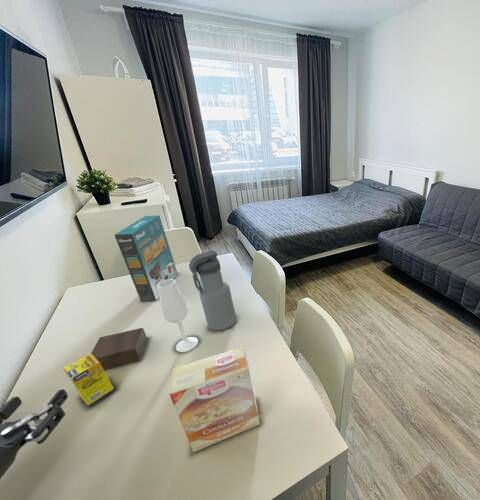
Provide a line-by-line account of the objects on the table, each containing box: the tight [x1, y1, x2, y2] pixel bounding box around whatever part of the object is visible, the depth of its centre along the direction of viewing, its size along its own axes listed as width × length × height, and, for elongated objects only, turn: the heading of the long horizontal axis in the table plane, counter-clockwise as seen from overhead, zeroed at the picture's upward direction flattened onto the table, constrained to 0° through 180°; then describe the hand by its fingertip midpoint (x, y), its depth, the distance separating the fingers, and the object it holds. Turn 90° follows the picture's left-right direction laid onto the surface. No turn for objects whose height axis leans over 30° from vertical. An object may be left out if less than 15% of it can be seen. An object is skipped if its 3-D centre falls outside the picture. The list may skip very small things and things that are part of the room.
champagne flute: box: [157, 278, 199, 353], centre depth 84 cm, size 7×7×24 cm
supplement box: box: [62, 353, 115, 408], centre depth 71 cm, size 6×6×11 cm
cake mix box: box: [114, 215, 178, 302], centre depth 116 cm, size 22×6×30 cm, turn 6°
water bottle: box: [188, 250, 237, 332], centre depth 93 cm, size 10×10×28 cm
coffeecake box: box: [168, 346, 261, 453], centre depth 61 cm, size 15×7×20 cm, turn 114°
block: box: [90, 327, 149, 371], centre depth 85 cm, size 12×10×5 cm
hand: (41, 395), depth 58 cm, fingers open, 8 cm apart
